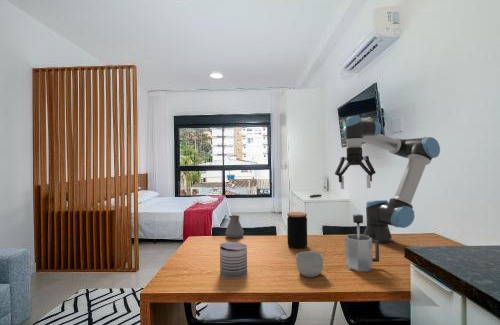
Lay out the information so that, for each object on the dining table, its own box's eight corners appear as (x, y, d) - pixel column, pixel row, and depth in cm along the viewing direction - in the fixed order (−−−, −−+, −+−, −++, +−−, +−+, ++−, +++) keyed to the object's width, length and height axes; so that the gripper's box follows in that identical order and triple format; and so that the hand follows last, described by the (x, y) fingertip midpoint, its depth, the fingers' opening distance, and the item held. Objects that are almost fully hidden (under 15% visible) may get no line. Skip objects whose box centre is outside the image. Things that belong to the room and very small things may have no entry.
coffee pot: (224, 235, 180) (224, 211, 180) (242, 233, 182) (241, 210, 182) (228, 244, 159) (228, 217, 159) (248, 242, 161) (248, 216, 162)
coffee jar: (306, 243, 158) (305, 211, 158) (308, 249, 147) (307, 215, 147) (287, 243, 159) (286, 211, 159) (287, 249, 148) (287, 215, 148)
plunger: (364, 257, 125) (363, 213, 126) (371, 264, 117) (371, 216, 118) (346, 258, 126) (345, 213, 126) (352, 264, 118) (351, 217, 118)
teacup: (318, 281, 107) (317, 260, 107) (291, 276, 113) (291, 256, 113) (328, 269, 119) (328, 251, 119) (304, 265, 125) (304, 247, 125)
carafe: (373, 262, 127) (373, 234, 127) (384, 271, 116) (383, 240, 116) (343, 262, 127) (342, 234, 127) (350, 271, 116) (350, 240, 117)
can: (220, 268, 122) (220, 241, 122) (246, 267, 123) (246, 240, 123) (219, 279, 111) (219, 248, 111) (248, 278, 111) (247, 247, 111)
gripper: (374, 146, 148) (376, 186, 148) (327, 148, 147) (329, 188, 147) (381, 145, 140) (383, 188, 140) (332, 147, 140) (333, 189, 140)
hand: (355, 188), depth 144 cm, fingers open, 13 cm apart
